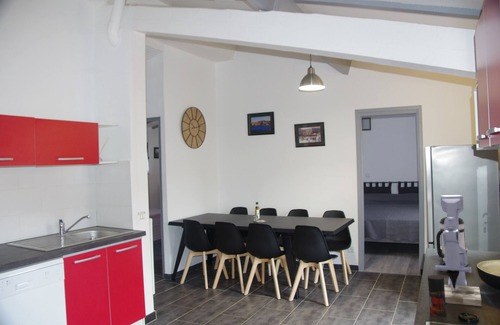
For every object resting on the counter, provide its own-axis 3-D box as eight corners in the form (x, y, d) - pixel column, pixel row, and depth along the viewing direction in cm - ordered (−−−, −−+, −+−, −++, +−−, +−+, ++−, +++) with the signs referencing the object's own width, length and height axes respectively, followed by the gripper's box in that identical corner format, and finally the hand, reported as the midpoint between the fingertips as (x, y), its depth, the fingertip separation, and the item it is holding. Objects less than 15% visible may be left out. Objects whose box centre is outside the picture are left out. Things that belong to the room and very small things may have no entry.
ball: (452, 282, 180) (460, 285, 178) (452, 288, 181) (459, 291, 179) (450, 285, 178) (458, 288, 176) (449, 291, 179) (457, 294, 177)
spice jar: (427, 312, 163) (424, 276, 163) (438, 310, 165) (435, 274, 165) (438, 317, 158) (435, 280, 158) (449, 314, 160) (447, 277, 160)
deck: (438, 289, 190) (438, 284, 190) (479, 292, 182) (479, 287, 182) (437, 301, 174) (436, 296, 174) (481, 306, 166) (481, 300, 166)
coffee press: (438, 260, 241) (435, 211, 241) (468, 261, 234) (464, 211, 234) (438, 267, 226) (434, 215, 226) (470, 269, 219) (466, 215, 219)
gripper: (434, 257, 179) (436, 288, 178) (470, 259, 172) (472, 291, 171) (435, 255, 185) (436, 284, 184) (470, 256, 178) (472, 287, 177)
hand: (454, 287), depth 178 cm, fingers closed, pressing on ball
